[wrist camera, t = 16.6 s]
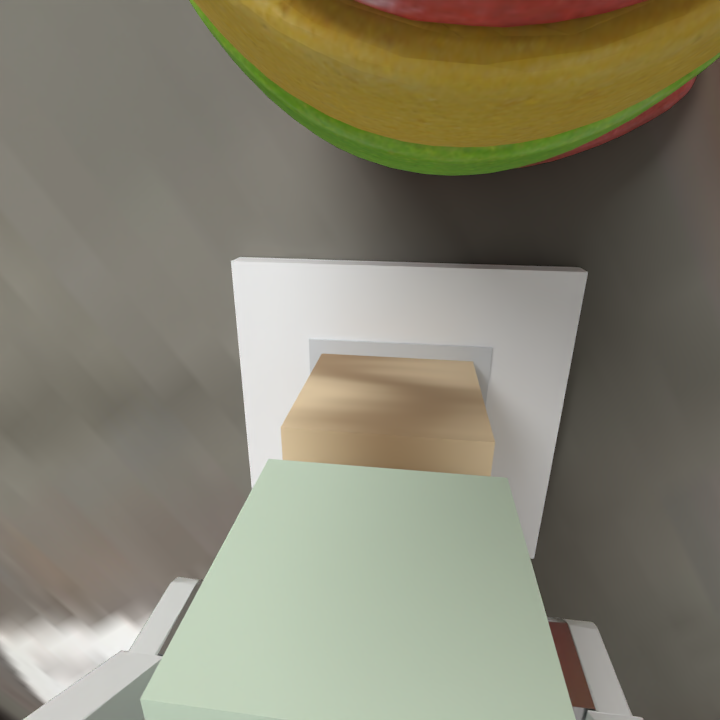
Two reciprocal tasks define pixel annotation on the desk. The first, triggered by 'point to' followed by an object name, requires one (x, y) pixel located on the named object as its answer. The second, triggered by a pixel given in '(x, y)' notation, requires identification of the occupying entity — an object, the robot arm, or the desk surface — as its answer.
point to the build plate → (416, 345)
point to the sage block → (366, 606)
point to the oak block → (391, 416)
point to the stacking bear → (468, 72)
